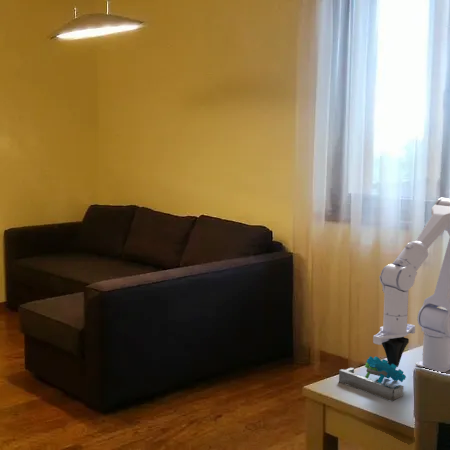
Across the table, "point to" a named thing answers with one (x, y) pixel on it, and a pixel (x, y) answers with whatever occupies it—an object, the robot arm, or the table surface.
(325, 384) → the table surface
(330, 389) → the table surface
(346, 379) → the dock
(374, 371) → the gear
